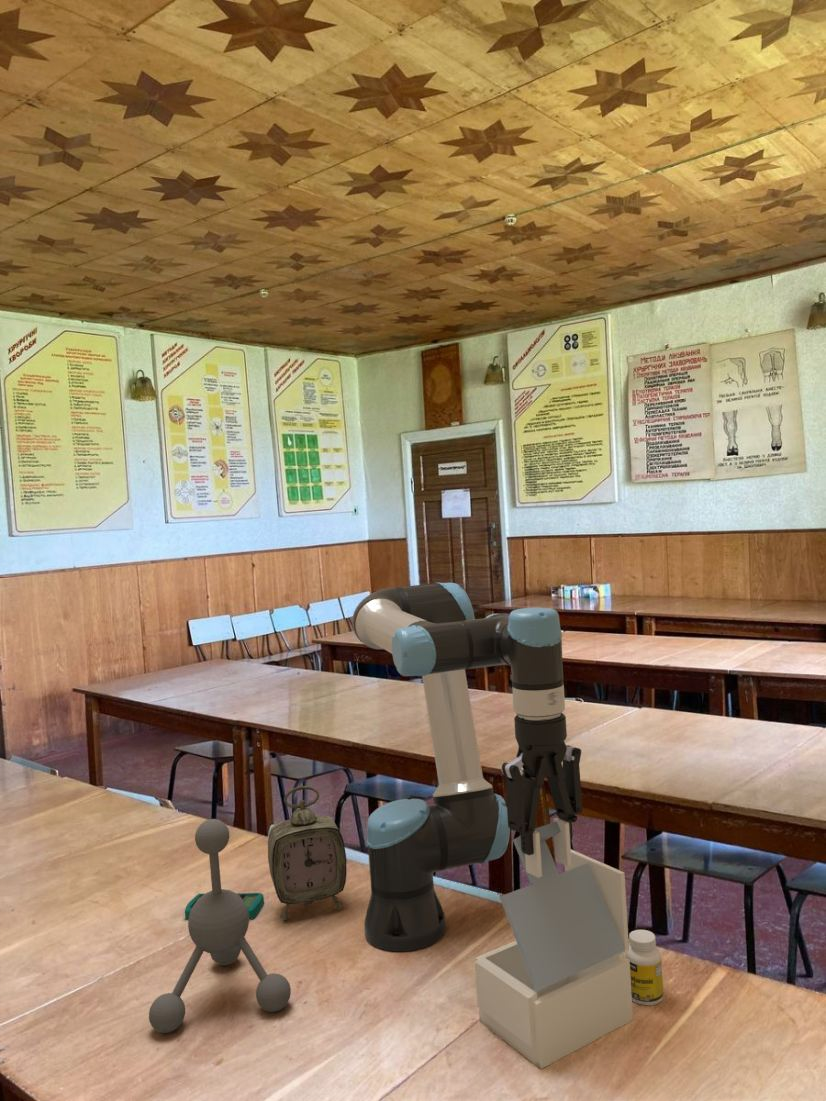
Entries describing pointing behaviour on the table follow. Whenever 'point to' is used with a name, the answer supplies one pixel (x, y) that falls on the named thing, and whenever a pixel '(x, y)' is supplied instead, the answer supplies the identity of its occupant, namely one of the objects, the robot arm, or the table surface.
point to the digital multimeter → (251, 900)
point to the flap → (559, 919)
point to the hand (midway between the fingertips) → (548, 868)
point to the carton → (559, 989)
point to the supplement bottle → (645, 968)
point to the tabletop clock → (306, 857)
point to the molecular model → (217, 938)
